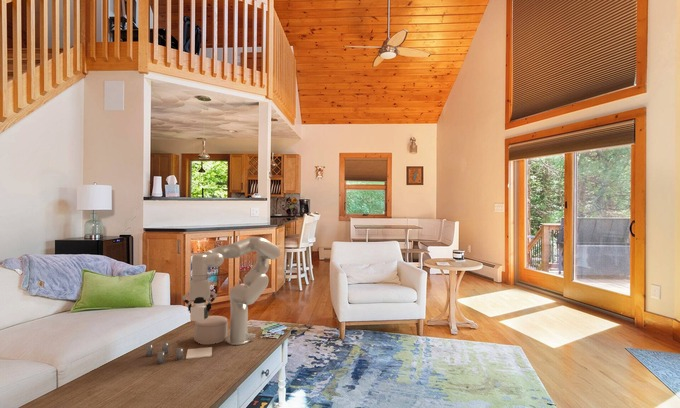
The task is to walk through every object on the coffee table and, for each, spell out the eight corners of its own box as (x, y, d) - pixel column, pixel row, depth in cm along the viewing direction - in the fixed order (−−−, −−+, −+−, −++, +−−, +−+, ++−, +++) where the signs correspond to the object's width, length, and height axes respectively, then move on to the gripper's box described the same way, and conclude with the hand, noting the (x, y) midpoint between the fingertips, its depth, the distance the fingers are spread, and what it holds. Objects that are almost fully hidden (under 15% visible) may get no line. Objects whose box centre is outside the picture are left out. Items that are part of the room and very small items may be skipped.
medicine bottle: (204, 320, 184) (204, 297, 184) (190, 321, 184) (190, 297, 184) (209, 316, 192) (209, 293, 192) (195, 316, 191) (195, 294, 191)
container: (199, 347, 195) (199, 325, 195) (190, 338, 209) (190, 318, 210) (231, 341, 206) (232, 320, 206) (221, 332, 220) (221, 313, 221)
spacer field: (185, 350, 191) (185, 340, 191) (182, 361, 176) (182, 351, 176) (147, 353, 186) (147, 343, 186) (140, 366, 170) (140, 355, 171)
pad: (212, 348, 195) (212, 347, 195) (211, 356, 183) (211, 355, 183) (187, 350, 191) (188, 349, 191) (185, 359, 179) (185, 357, 179)
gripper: (217, 275, 194) (217, 308, 194) (182, 277, 189) (182, 311, 189) (217, 278, 187) (217, 312, 187) (180, 280, 182) (180, 315, 182)
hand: (199, 311), depth 188 cm, fingers closed on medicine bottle, 8 cm apart
